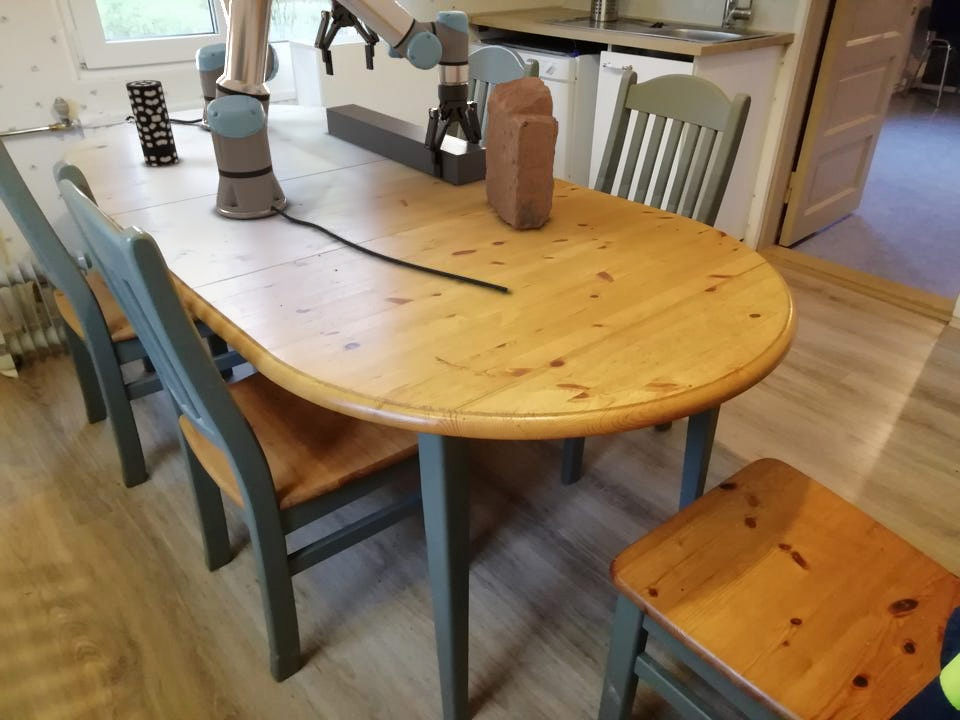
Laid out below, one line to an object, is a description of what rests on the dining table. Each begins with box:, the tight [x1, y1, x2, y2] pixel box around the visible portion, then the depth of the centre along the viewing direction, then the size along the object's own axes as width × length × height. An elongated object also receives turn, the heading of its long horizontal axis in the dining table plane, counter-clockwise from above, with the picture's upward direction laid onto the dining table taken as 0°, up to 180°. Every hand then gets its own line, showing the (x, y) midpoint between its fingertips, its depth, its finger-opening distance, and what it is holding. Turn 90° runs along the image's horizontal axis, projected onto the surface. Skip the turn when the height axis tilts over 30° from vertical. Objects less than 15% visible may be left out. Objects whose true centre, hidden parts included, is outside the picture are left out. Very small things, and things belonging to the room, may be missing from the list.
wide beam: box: [325, 103, 487, 186], centre depth 194 cm, size 63×10×8 cm, turn 41°
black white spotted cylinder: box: [125, 79, 179, 167], centre depth 181 cm, size 8×8×20 cm
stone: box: [484, 76, 560, 230], centre depth 149 cm, size 22×11×28 cm, turn 18°
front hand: (454, 172), depth 180 cm, fingers closed on wide beam, 10 cm apart
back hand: (350, 72), depth 201 cm, fingers open, 13 cm apart
